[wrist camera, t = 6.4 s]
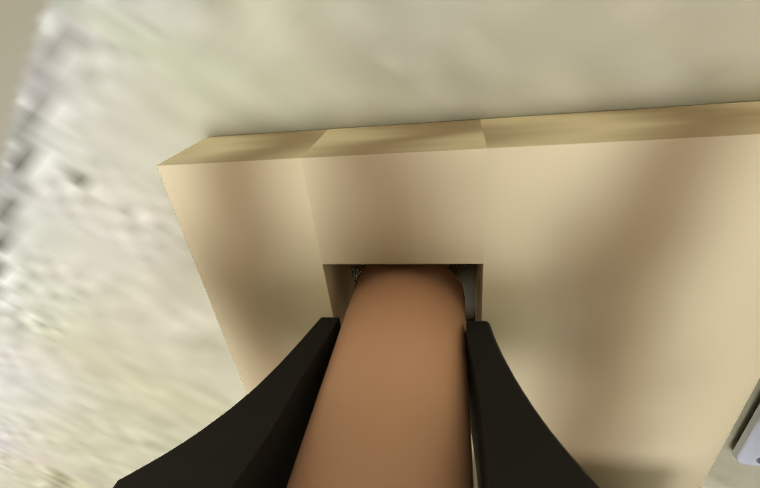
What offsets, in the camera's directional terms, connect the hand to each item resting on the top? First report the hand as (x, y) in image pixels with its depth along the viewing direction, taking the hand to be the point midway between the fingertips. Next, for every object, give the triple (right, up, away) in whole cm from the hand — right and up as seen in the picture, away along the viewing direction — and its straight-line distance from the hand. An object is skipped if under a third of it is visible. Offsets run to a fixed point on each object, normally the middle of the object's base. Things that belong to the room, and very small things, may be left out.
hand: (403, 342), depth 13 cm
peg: (0, +1, +2) cm, 2 cm away
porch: (+3, -1, +4) cm, 5 cm away
